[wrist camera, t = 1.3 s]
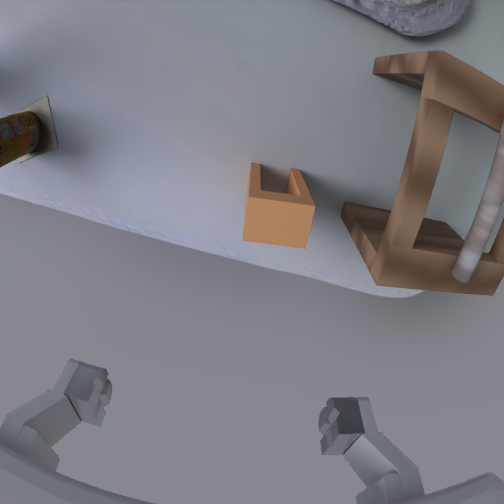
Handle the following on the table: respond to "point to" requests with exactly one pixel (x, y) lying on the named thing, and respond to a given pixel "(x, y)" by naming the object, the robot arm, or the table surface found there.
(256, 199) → the orange forked block
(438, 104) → the wooden slider frame
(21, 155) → the condiment
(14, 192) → the table surface
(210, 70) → the table surface
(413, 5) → the food plate
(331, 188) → the table surface
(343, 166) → the table surface
